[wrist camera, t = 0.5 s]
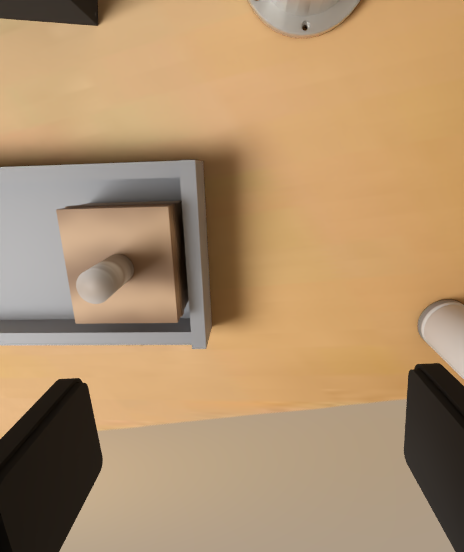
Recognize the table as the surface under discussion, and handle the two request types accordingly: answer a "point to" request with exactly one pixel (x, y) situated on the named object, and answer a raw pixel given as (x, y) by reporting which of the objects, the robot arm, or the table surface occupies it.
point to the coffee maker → (51, 11)
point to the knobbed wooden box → (125, 261)
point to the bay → (50, 258)
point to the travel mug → (445, 331)
